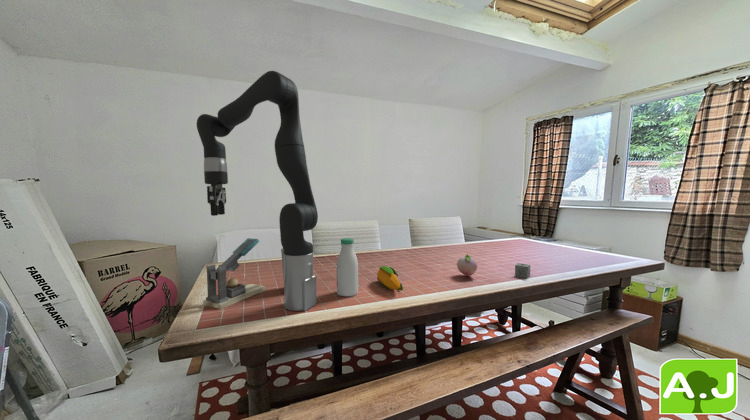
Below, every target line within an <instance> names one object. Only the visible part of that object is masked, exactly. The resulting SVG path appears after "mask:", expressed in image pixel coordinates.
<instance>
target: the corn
mask: <svg viewBox="0 0 750 420" xmlns="http://www.w3.org/2000/svg"><path fill="white" fill-rule="evenodd" d="M376 277H377V279H376V280H377V282H379V284H381V286H382V287H383V288H385V289H386V290H394V291H403V289H404V287H403V285H402V283H401V282H400V281H399V278H398V277H399V275H398V272H397V271H396V270H395V269H394V268H392V267H391V266H386V265H382V266H380V267H379V270H378V271H377V274H376Z"/></svg>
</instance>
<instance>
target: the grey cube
mask: <svg viewBox="0 0 750 420" xmlns="http://www.w3.org/2000/svg"><path fill="white" fill-rule="evenodd" d="M514 276H515V277H516V278H524V279H529V278H530V277H531V264H526V263H520V262H518V263H516V264H515V265H514Z"/></svg>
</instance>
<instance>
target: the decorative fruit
mask: <svg viewBox="0 0 750 420" xmlns="http://www.w3.org/2000/svg"><path fill="white" fill-rule="evenodd" d="M456 267H457V270H458V271H459V272H460V273H461V274H462V275H464V276H466V277H468V278H469V277H470V276H472V275H474V274H475V272H476V271H477V269H478V264H477V261H476V259H474V258H473V257H471V255H470V254H469V253H467V254H465V256H460V258H458V260H457V262H456Z"/></svg>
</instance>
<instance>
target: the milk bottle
mask: <svg viewBox="0 0 750 420" xmlns="http://www.w3.org/2000/svg"><path fill="white" fill-rule="evenodd" d="M354 244H355V243H354V238H350V237H348V238H346V237H345V238H340V246H341V249H340V252H339V254H338V257H337V261H336V294H337V295H338V296H340V297H353V296H356V295H357V294H358V292H359V265H358V264H359V262H358V261H359V260H358V258H357V255H356V253H355V250H354Z"/></svg>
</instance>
